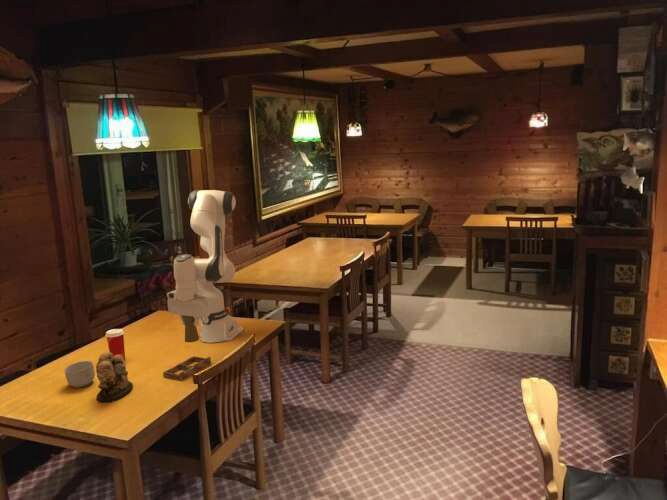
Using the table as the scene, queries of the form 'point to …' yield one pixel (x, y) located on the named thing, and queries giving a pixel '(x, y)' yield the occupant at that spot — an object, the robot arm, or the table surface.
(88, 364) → the teacup
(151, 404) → the table surface
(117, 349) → the paper cup
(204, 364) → the wooden divided frame
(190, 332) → the cork
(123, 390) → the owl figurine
